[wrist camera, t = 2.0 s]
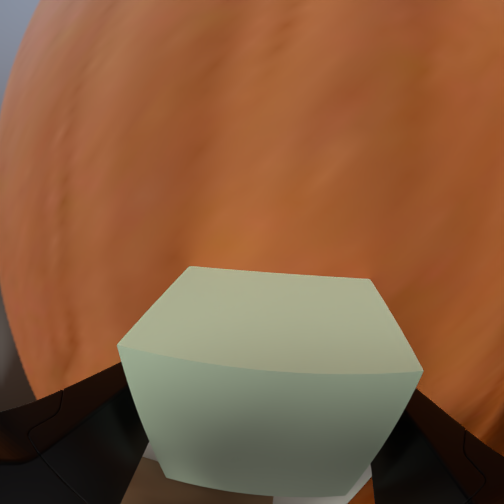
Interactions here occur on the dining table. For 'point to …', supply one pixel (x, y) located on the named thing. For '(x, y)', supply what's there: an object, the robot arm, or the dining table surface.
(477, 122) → the dining table surface
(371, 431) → the sage block
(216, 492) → the walnut slab
